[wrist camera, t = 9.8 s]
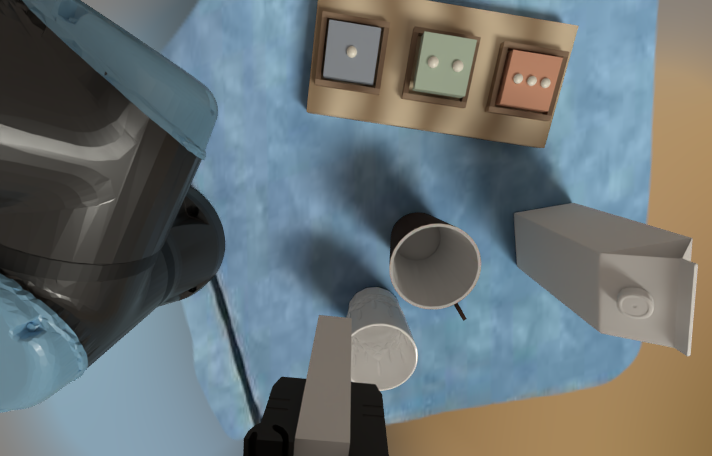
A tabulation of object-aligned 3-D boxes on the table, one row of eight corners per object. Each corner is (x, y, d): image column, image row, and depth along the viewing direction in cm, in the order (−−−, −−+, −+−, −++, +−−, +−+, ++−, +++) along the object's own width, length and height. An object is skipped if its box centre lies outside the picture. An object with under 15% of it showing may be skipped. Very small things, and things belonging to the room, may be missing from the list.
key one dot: (324, 78, 35) (322, 75, 33) (330, 24, 34) (329, 18, 32) (372, 85, 35) (373, 83, 34) (380, 32, 34) (381, 27, 32)
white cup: (385, 271, 43) (394, 310, 33) (414, 319, 45) (431, 370, 35) (332, 300, 44) (325, 346, 34) (363, 346, 46) (365, 402, 36)
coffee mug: (378, 206, 41) (386, 228, 31) (451, 199, 41) (481, 219, 31) (385, 295, 44) (394, 340, 34) (453, 289, 44) (481, 332, 34)
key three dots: (494, 105, 36) (501, 103, 34) (506, 53, 35) (514, 49, 33) (540, 112, 36) (549, 111, 34) (554, 61, 35) (564, 57, 33)
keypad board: (309, 112, 38) (305, 110, 35) (321, -10, 35) (318, -23, 32) (534, 147, 39) (549, 148, 36) (566, 31, 36) (585, 22, 33)
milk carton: (572, 202, 41) (751, 255, 22) (573, 257, 42) (740, 348, 24) (512, 212, 41) (641, 273, 23) (516, 266, 43) (637, 364, 24)
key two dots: (412, 90, 34) (414, 88, 33) (421, 35, 33) (425, 30, 31) (460, 98, 35) (465, 96, 33) (471, 44, 33) (477, 39, 32)
